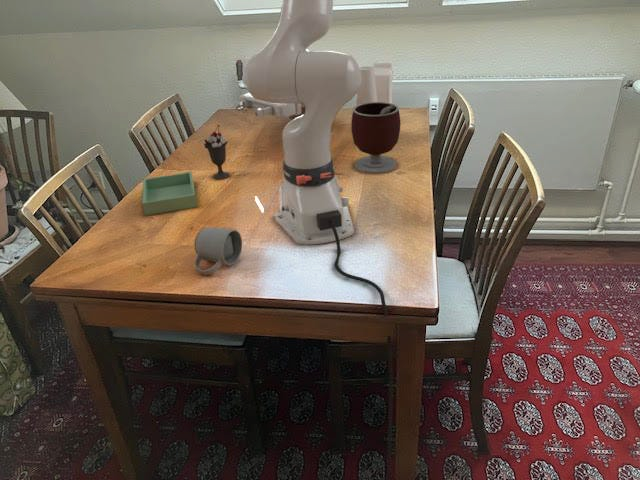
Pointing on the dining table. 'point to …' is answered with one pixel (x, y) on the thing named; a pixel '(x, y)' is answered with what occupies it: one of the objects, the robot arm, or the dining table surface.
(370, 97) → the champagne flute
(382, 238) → the dining table surface
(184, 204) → the green tray
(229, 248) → the ceramic mug
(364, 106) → the mate gourd
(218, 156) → the sundae
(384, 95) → the milk
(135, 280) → the dining table surface
